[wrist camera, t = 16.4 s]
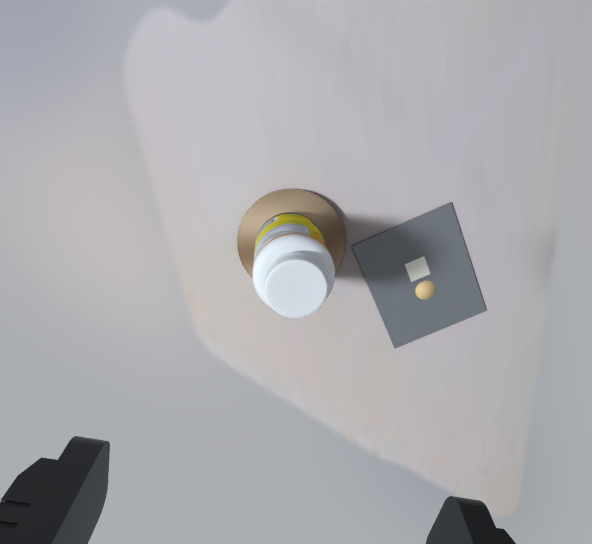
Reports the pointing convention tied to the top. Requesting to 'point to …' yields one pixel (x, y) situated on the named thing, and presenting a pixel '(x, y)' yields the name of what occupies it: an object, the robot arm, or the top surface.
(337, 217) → the cork coaster
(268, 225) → the supplement bottle
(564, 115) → the top surface
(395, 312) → the gray board
